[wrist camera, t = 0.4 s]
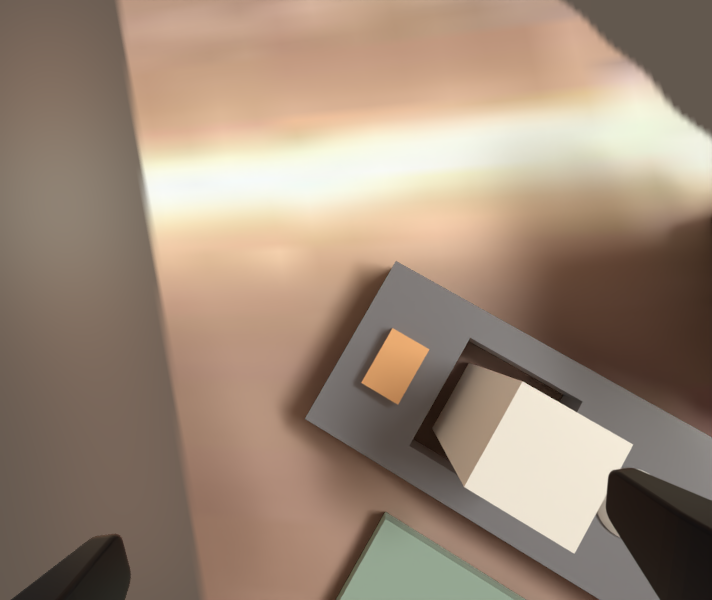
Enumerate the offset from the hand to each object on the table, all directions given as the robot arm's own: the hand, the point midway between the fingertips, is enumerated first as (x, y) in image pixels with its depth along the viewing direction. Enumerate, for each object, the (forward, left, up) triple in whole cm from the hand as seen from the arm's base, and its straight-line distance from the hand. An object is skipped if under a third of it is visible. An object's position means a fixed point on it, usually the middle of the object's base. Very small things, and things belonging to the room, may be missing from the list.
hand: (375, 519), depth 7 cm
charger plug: (-5, -2, -14) cm, 15 cm away
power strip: (-11, -2, -14) cm, 18 cm away
